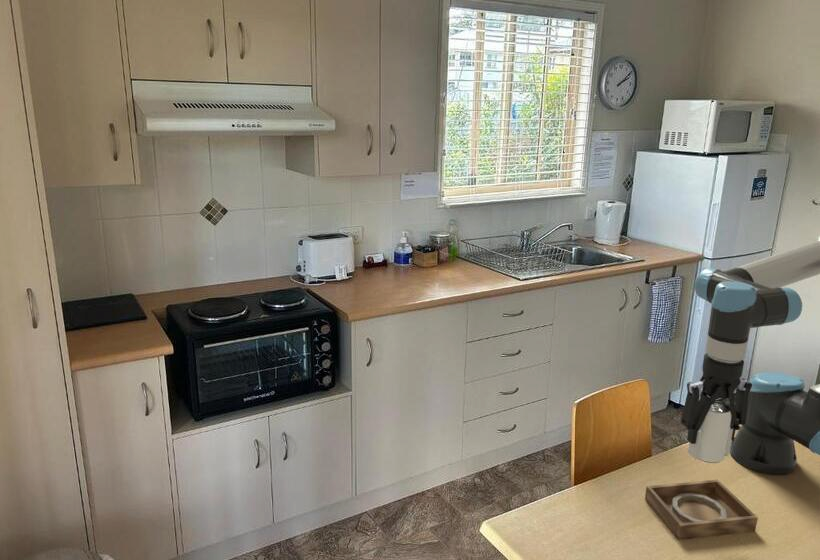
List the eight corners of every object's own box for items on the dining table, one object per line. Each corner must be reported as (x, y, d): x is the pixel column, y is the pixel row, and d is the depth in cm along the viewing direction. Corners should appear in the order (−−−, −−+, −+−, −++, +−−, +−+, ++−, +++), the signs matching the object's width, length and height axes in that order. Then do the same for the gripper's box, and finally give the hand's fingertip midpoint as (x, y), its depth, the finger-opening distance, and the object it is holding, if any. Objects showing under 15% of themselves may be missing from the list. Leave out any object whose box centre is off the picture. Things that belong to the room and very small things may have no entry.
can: (695, 462, 136) (703, 411, 133) (688, 446, 142) (696, 397, 139) (727, 465, 135) (736, 415, 131) (719, 449, 141) (728, 400, 137)
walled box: (715, 492, 151) (717, 479, 150) (755, 531, 138) (757, 517, 137) (644, 499, 148) (646, 486, 147) (678, 539, 135) (680, 525, 134)
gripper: (754, 346, 137) (737, 441, 143) (671, 351, 134) (657, 448, 140) (779, 360, 130) (759, 460, 136) (691, 366, 127) (676, 467, 133)
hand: (708, 453), depth 138 cm, fingers closed on can, 6 cm apart
